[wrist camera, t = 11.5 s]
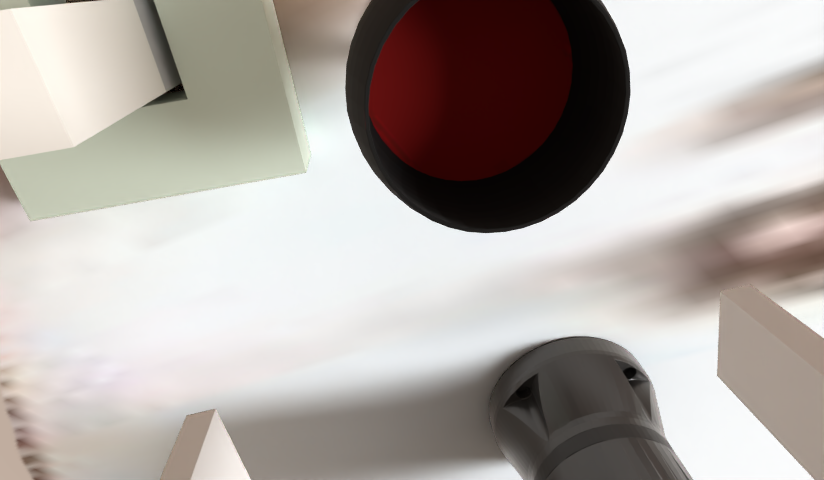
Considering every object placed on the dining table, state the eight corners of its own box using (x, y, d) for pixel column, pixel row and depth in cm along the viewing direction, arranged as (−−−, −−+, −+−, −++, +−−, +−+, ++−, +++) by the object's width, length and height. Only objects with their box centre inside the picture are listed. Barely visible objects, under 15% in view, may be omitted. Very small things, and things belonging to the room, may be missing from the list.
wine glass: (329, 29, 34) (267, 68, 16) (464, -74, 32) (566, -162, 14) (418, 157, 38) (449, 303, 20) (544, 72, 36) (705, 149, 18)
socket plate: (311, 154, 38) (306, 172, 34) (61, 198, 38) (30, 221, 34) (234, -152, 30) (217, -169, 26) (-85, -98, 30) (-146, -108, 26)
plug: (190, 77, 35) (74, 147, 21) (115, 90, 35) (-54, 169, 21) (163, -6, 33) (10, 8, 18) (82, 8, 33) (-134, 33, 18)
